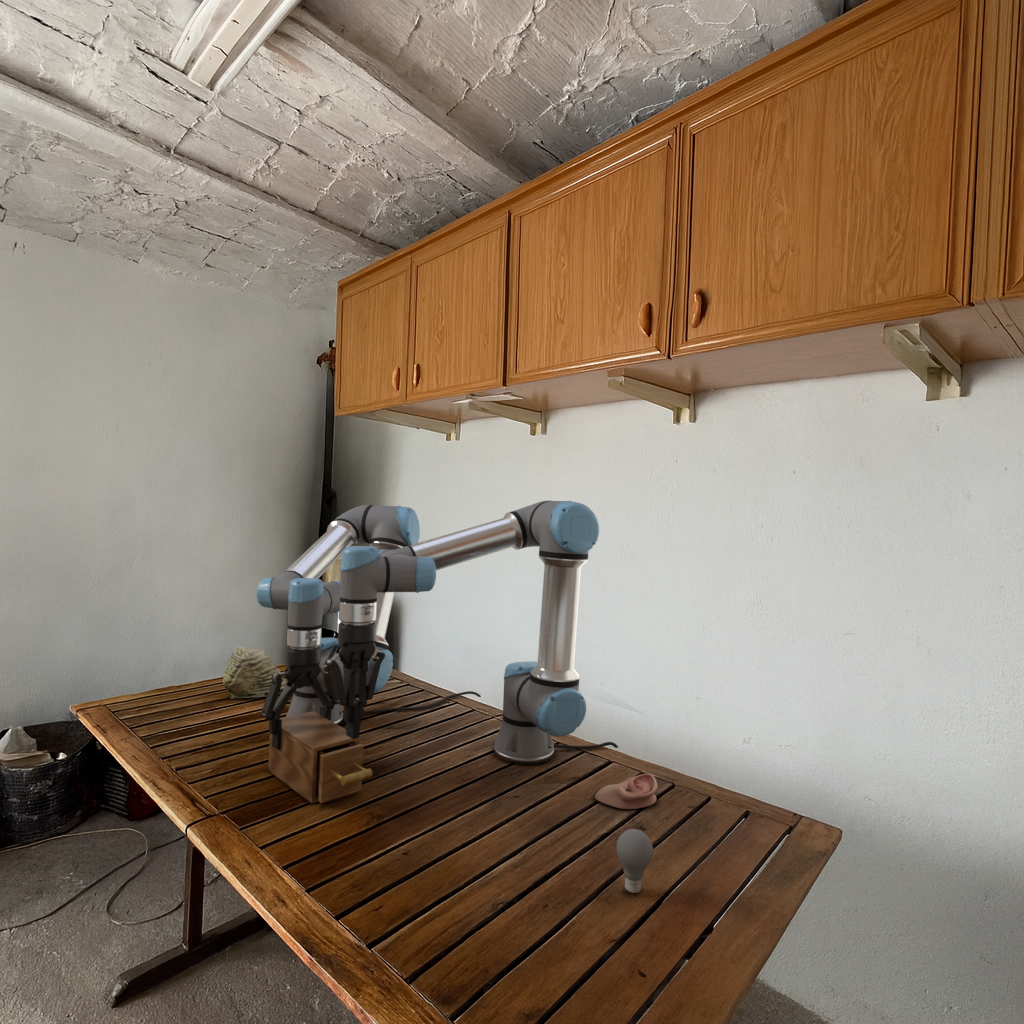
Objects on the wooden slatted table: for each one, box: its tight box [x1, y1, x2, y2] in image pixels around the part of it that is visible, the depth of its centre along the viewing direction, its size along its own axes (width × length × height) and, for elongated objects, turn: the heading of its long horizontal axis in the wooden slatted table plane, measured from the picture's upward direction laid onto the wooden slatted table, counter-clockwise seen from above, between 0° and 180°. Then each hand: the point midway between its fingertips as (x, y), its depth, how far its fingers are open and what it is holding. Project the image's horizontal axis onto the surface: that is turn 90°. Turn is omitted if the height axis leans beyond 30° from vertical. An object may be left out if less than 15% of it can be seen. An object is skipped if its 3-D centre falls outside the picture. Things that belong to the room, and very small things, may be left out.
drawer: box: [316, 742, 373, 804], centre depth 137 cm, size 26×9×10 cm, turn 45°
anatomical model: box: [594, 773, 658, 810], centre depth 139 cm, size 13×4×12 cm
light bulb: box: [615, 828, 654, 894], centre depth 106 cm, size 6×6×10 cm
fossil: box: [222, 646, 287, 699], centre depth 198 cm, size 9×18×15 cm, turn 132°
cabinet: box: [267, 711, 360, 804], centre depth 142 cm, size 21×11×12 cm, turn 45°
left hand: (300, 741), depth 146 cm, fingers closed on cabinet, 11 cm apart
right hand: (352, 736), depth 130 cm, fingers closed
